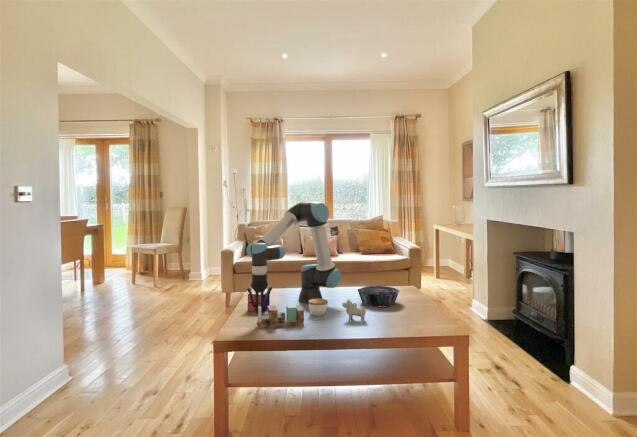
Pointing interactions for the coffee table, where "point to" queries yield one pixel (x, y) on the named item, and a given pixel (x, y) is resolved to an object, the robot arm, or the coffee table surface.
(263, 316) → the shaft
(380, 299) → the decorative bowl
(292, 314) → the block
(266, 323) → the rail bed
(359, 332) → the coffee table surface
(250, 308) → the puzzle cube
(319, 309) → the lidded jar
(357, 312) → the dog figurine
